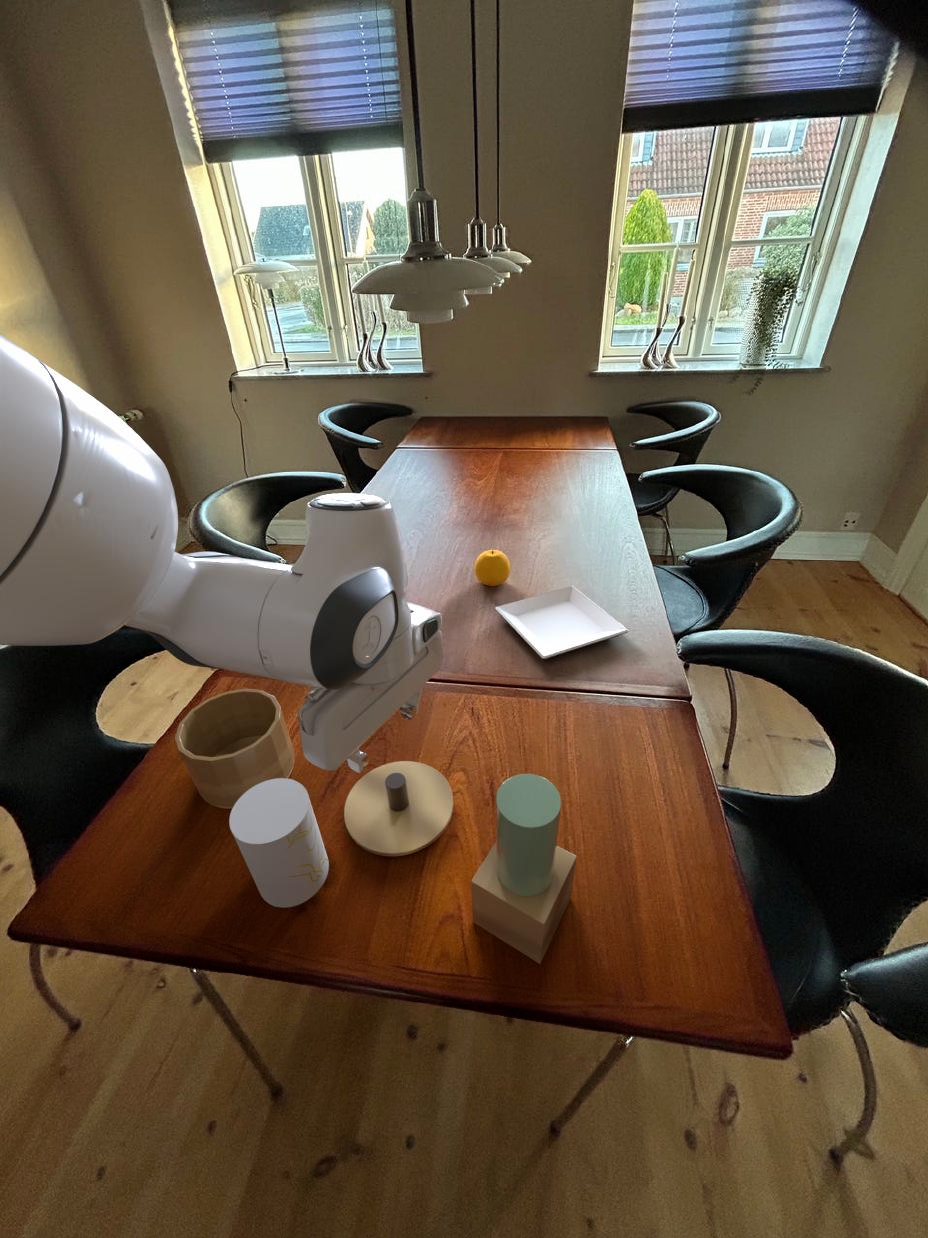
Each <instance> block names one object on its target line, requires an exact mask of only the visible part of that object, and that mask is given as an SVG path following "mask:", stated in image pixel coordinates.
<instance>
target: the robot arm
mask: <svg viewBox="0 0 928 1238" xmlns="http://www.w3.org/2000/svg"><path fill="white" fill-rule="evenodd" d="M178 513H179V512H178V504H177V498H176V494H175V489H174V486H173V482H172V479H171V476H170V473H169V471H168V468H167V467H166V464H165V463H164V462H163V460H162V459H161V458H160V457H159V456H158V455H157V453H156V452H155V451H154V450H153V449H152V448H151V447H150V446H149V444H147V443H146V441H144V440H143V438H142V437H141V436H140V435H139V434H138V433H136V431H134V430H133V428H131V426H129V425H128V424H127V423H126V422H125V421H123V419H122V418H120V417H119V416H118V415H117V414H116V413H114V412H113V411H112V410H110V409H109V408H108V407H107V406H105V404H104V403H101V402H100V401H99V400H97V399H96V398H95V397H94V396H92V395H90V394H89V393H88V392H87V391H85V390H84V389H82V388H81V387H79V386H78V385H77V384H75V383H74V382H73V381H71V380H69V379H68V378H66V377H65V376H64V375H62V374H61V373H59V372H58V371H56V370H55V369H53V368H52V367H50V366H48V365H47V364H46V363H44V362H43V361H42V360H40V359H38V358H37V357H35V356H34V355H32V354H31V353H30V352H28V351H26V350H25V349H23V348H22V347H21V346H20V345H17V344H16V343H15V342H13V341H11V340H9V339H8V338H6V337H5V336H4V335H2V334H1V333H0V646H15V647H16V646H19V647H24V646H25V647H47V646H48V647H50V646H51V647H53V646H76V645H77V646H78V645H80V646H81V645H90V644H93V643H96V642H98V641H100V640H103V639H104V638H106V637H108V636H110V635H111V634H113V633H115V632H117V631H118V630H119V629H121V628H122V627H128V628H132V629H136V630H140V631H142V632H144V633H145V634H148V635H149V636H150V637H151V638H152V639H153V640H155V641H156V642H157V643H159V644H160V645H161V646H162V647H163V648H164V649H165V650H166V651H167V652H168V653H169V654H170V655H172V657H174V658H176V659H177V660H179V661H180V662H182V663H184V664H186V665H189V666H191V667H192V666H193V667H200V668H207V669H216V670H227V671H231V672H236V673H241V674H246V675H251V676H255V677H260V678H265V679H271V680H275V681H281V682H285V683H289V684H295V685H301V686H304V687H311V688H312V689H310V690H309V691H308V693H307V694H306V695H305V698H306V699H305V701H304V702H303V704H302V705H301V707H300V708H299V710H298V712H297V719H298V722H299V733H300V744H301V749H302V753H303V757H304V758H305V760H306V761H308V762H309V763H311V764H312V765H314V766H315V767H317V768H319V769H322V770H325V771H329V772H334V771H336V770H337V769H338V768H340V766H342V765H343V764H344V763H345V762H346V761H347V765H348V768H350V769H351V770H352V771H354V772H356V773H358V774H361V773H362V771H363V770H364V769H365V768H367V766H368V765H369V764H370V762H369V755H368V754H367V753H366V752H363V751H361V750H360V747H361V746H362V745H364V743H365V742H367V741H368V740H369V739H370V738H371V736H373V735H374V734H375V733H376V732H377V731H378V730H379V729H380V728H381V727H382V726H383V725H384V724H385V723H386V722H387V721H388V720H389V719H390V718H391V717H393V715H394V714H395V713H396V712H398V710H400V715H401V717H402V718H404V719H407V720H408V721H412V720H413V719H414V718H415V717H417V715H418V714H419V713H420V709H419V703H420V701H421V697H422V694H423V691H424V685H426V683H428V682H429V680H431V679H432V678H433V677H434V675H436V674H437V673H438V672H439V671H440V669H441V667H442V664H443V661H444V643H443V633H442V631H441V628H442V625H443V619H442V618H443V617H442V614H441V613H440V612H438V611H435V610H433V609H430V608H428V607H425V606H422V605H419V604H416V603H413V602H409V601H407V597H406V596H407V595H406V594H407V589H408V585H409V583H408V582H409V575H408V567H407V559H406V552H405V547H404V542H403V536H402V532H401V528H400V523H399V521H398V517H397V514H396V512H395V509H394V507H393V505H392V504H391V502H389V501H388V500H387V499H384V498H383V497H380V496H378V495H375V494H366V493H357V492H344V493H342V492H341V493H338V492H335V493H328V494H323V495H320V496H317V497H315V498H313V499H312V500H310V501H309V502H307V504H306V507H305V531H306V542H305V546H304V547H303V550H302V552H301V554H300V556H299V557H298V559H297V560H296V561H295V563H294V564H287V563H280V562H273V561H266V560H259V559H258V560H257V559H250V558H243V557H240V556H238V555H237V556H236V555H232V554H228V553H227V554H226V553H221V552H217V551H198V552H190V553H182V554H181V553H178V552H177V551H176V545H177V541H178V534H179V514H178Z"/></svg>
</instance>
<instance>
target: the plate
mask: <svg viewBox="0 0 928 1238" xmlns="http://www.w3.org/2000/svg"><path fill="white" fill-rule="evenodd" d="M494 609H495V610H496V611H497V612H498V614H499V615H500V616H501V617H502V618H503V619H504V620H505V621H506V622H507V623H508V624H509V625H510V626H511V627H512V628H513V629H514V631H516V633H517V634H518V635H519V636H520V637H521V638H522V639H523V640H524V641H525V642H526V643H527V644H528V645H529V646H530V647H531V648H532V649H533V651H534V652H535V653H536V654H537V655H538V656H539V657H540V658H541V659H542V660H548V659H550V658H553V657H557V656H560V655H563V654H565V653H569V652H572V651H575V650H579V649H581V648H585V647H588V646H590V645H591V646H592V645H593V644H594V645H595V644H597V643H600V642H603V641H606V640H609V639H612V638H616V637H619V636H622V635H626V634H628V633H629V632H630V630H629V629H628V628H627V627H625V626H624V625H623V624H622V623H621V622H619V621H618V620H617V619H616V618H614V617H613V616H612V615H611V614H610V613H608V612H607V611H605V610H604V609H603V608H602V607H600V606H599V605H598V604H597V603H595V602H594V601H593V600H592V599H590V598H589V597H588V596H587V595H585V594H584V593H583V592H581V591H580V589H578V588H576V587H575V586H574V585H571V586H567V587H564V588H560V589H556V590H552V591H549V592H546V593H541V594H538V595H534V596H530V597H527V598H523V599H521V600H516V601H513V602H510V603H505V604H502V605H499V606H495V607H494Z"/></svg>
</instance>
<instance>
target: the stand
mask: <svg viewBox="0 0 928 1238" xmlns="http://www.w3.org/2000/svg"><path fill="white" fill-rule="evenodd" d="M577 859H578V856H577V855H575V854H574V853H572V852H569V851H568V850H566V849H564V848H562V847H560V846H558V845H557V847H556V856H555V866H554V875H553V879H552V882H551V884H550V885H549V887H548V888H547V889H546V890H545V891H543V892H542V893H540V894H538V895H535V896H527V897H526V896H519V895H516V894H514V893H512V892H510V891H509V890H508V889H506V888H505V887H504V886H503V884H502V883H501V882H500V880H499V878H498V875H497V869H496V842H494V844H493V846H492V847H491V849H490V851H489V852H488V854H487V855H486V857H485V859H484V860H483V862H482V863H481V865H480V866H479V868H478V869H477V871H476V872H475V874H474V875H473V878H472V880H470V887H471V888H470V889H471V908H472V923H473V924H475V925H477V926H478V927H480V928H481V929H483V930H485V931H487V932H488V933H489V934H491V935H493V936H494V937H495V938H497V939H499V940H500V941H502V942H504V943H505V944H507V945H509V946H510V947H511V948H513V949H515V950H517V951H518V952H519V953H522V954H523V955H524V956H526V957H528V958H530V959H531V960H533V961H534V962H535V963H537V964H539V965H541V963H542V961H543V959H544V957H545V955H546V953H547V950H548V948H549V946H550V944H551V942H552V939H553V937H554V935H555V934H556V931H557V929H558V927H559V924H560V922H561V920H562V918H563V916H564V914H565V911H566V910H567V907H568V905H569V903H570V901H571V898H572V894H573V893H572V892H573V886H574V881H575V880H574V879H575V874H576V873H575V872H576V867H577Z"/></svg>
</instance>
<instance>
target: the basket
mask: <svg viewBox="0 0 928 1238" xmlns="http://www.w3.org/2000/svg"><path fill="white" fill-rule="evenodd" d="M174 742H175V745H176V746H177V750H178V753H179V755H180V756H181V759H182V761H183V763H184V765H185V767H186V769H187V771H188V774H189V775H190V778H191V779H192V782H193V784H194V785H195V788H196V790H197V792H198V794H199V796H200V797H201V798H202V799H203V800H204V801H205V802H206V803H208V804H210V805H211V806H214V807H215V808H220V809H227V810H228V809H233V807H234V805H235V803H236V802H237V801H238V799H239V798H240V797H241V796H242V795H243V794H244V793H245V792H247V791H248V790H249V789H251V788H252V787H254V786H256V785H257V784H260V783H262V782H264V781H267V780H271V779H278V778H286V779H289V777H290V776H291V774H292V772H293V769H294V766H295V761H296V759H295V758H296V757H295V749H294V746H293V743H292V739H291V736H290V733H289V729H288V727H287V723H286V720H285V716H284V712H283V710H282V706H281V705H280V704H279V702H278V699H277V698H276V697H275V696H274V695H273V694H270V693H268V692H266V691H264V690H263V689H253V688H241V689H235V690H229V691H225V692H222V693H219V694H217V695H214V696H211V697H209V698H207V699H205V700H204V701H202V702H201V703H200V704H198V705H197V706H195V707H193V708H192V709H190V710H189V712H188V713H187V714H186V715H185V716H184V717H183V719H182V720H181V721H180V722H179V724H178V726H177V729H176V733H175V736H174Z"/></svg>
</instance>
